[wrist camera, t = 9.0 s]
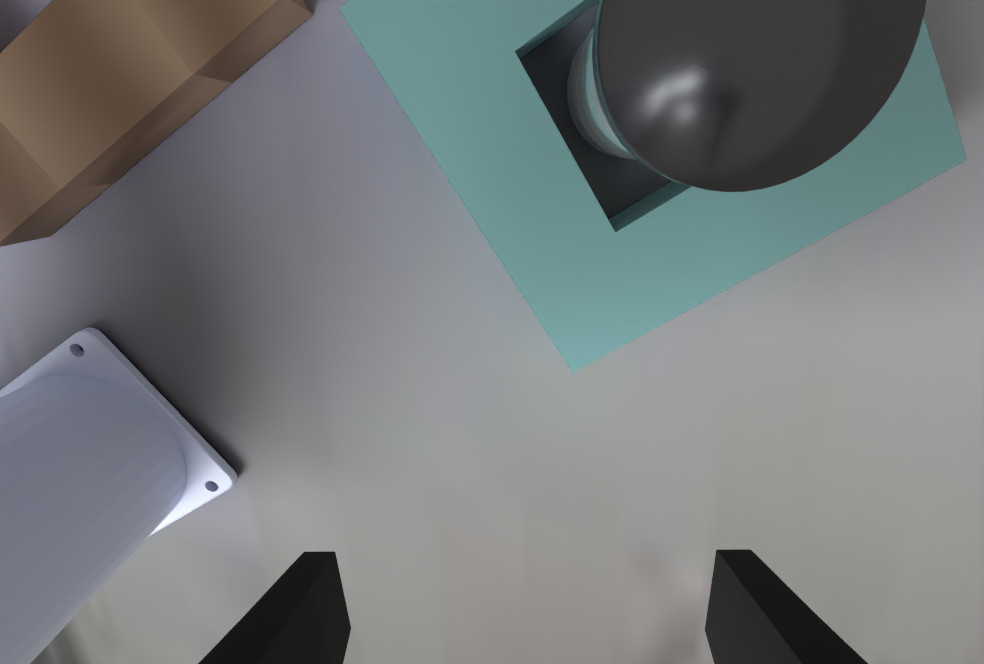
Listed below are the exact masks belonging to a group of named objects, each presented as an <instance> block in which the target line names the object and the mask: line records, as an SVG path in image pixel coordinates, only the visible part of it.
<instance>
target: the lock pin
mask: <svg viewBox="0 0 984 664" xmlns="http://www.w3.org/2000/svg"><path fill="white" fill-rule="evenodd" d="M925 4H926V0H600V1H599V5H598V9H597V13H596V18H595V24H594V26H593V28H592V29H591V30H590V32H589V33H588V35H587V36H586V38H585V39H584V41H583V42H582V44H581V45H580V47H579V49H578V50H577V52H576V54H575V56H574V59H573V61H572V64H571V67H570V71H569V75H568V82H567V99H568V106H569V111H570V114H571V117H572V120H573V122H574V124H575V126H576V128H577V130H578V131H579V132H580V134H581V135H582V137H583V138H584V139H585V140H586V141H587V142H588V143H589V144H591V145H592V146H593V147H594V148H596V149H598V150H599V151H601V152H603V153H606V154H608V155H611V156H615V157H620V158H627V159H634V160H638V161H639V162H640V163H641V164H643V165H644V166H645V167H646V168H648V169H650V170H651V171H653V172H655V173H656V174H658V175H660V176H662V177H664V178H667V179H669V180H672V181H674V182H677V183H681V184H685V185H689V186H693V187H697V188H701V189H705V190H711V191H720V192H746V191H752V190H759V189H765V188H768V187H772V186H775V185H779V184H782V183H785V182H787V181H790V180H792V179H795V178H797V177H800V176H802V175H804V174H806V173H807V172H809V171H811V170H813V169H815V168H817V167H818V166H820V165H822V164H823V163H825V162H826V161H827V160H829V159H830V158H832V157H833V156H835V155H836V154H837V153H839V152H840V151H841V150H842V149H844V148H845V147H846V146H847V145H848V144H849V143H850V142H852V141H853V140H854V139H855V138H856V137H857V136H858V135H859V134H860V133H861V132H862V131H863V130H864V129H865V128H866V127H867V125H868V124H869V123H870V122H871V121H872V120H873V119H874V117H875V116H876V115H877V114H878V112H879V111H880V110H881V108H882V107H883V106H884V104H885V103H886V102H887V100H888V99H889V97H890V95H891V94H892V92H893V90H894V89H895V87H896V86H897V84H898V82H899V81H900V79H901V77H902V75H903V73H904V70H905V68H906V66H907V64H908V62H909V60H910V58H911V55H912V52H913V50H914V47H915V44H916V41H917V39H918V36H919V32H920V28H921V24H922V20H923V16H924V12H925Z"/></svg>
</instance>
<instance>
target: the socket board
mask: <svg viewBox="0 0 984 664" xmlns="http://www.w3.org/2000/svg"><path fill="white" fill-rule="evenodd" d="M599 1H600V0H348V1H347V2H346V3H345V4H344V5H342V6H341V7H340V8H339V11H340V13H341V14H342V16H343V17H344V19H345V20H346V22H347V23H348V25H349V27H350V28H351V30H352V31H353V33H354V34H355V36H356V37H357V39H358V40H359V42H360V44H361V45H362V47H363V48H364V50H365V51H366V53H367V54H368V56H369V58H370V59H371V61H372V62H373V64H374V65H375V67H376V68H377V70H378V72H379V73H380V75H381V76H382V78H383V79H384V81H385V82H386V84H387V86H388V87H389V89H390V90H391V92H392V93H393V95H394V96H395V98H396V100H397V101H398V103H399V104H400V106H401V107H402V109H403V110H404V112H405V113H406V115H407V117H408V118H409V120H410V121H411V123H412V124H413V126H414V127H415V129H416V131H417V132H418V134H419V135H420V137H421V138H422V140H423V141H424V143H425V145H426V146H427V148H428V149H429V151H430V152H431V154H432V155H433V157H434V159H435V160H436V162H437V163H438V165H439V166H440V168H441V169H442V171H443V173H444V174H445V176H446V177H447V179H448V180H449V182H450V183H451V185H452V187H453V188H454V190H455V191H456V193H457V194H458V196H459V197H460V199H461V200H462V202H463V204H464V205H465V207H466V208H467V210H468V211H469V213H470V214H471V216H472V218H473V219H474V221H475V222H476V224H477V225H478V227H479V228H480V230H481V232H482V233H483V235H484V236H485V238H486V239H487V241H488V242H489V244H490V246H491V247H492V249H493V250H494V252H495V253H496V255H497V256H498V258H499V260H500V261H501V263H502V264H503V266H504V267H505V269H506V270H507V272H508V274H509V275H510V277H511V278H512V280H513V281H514V283H515V284H516V286H517V287H518V289H519V291H520V292H521V294H522V295H523V297H524V298H525V300H526V301H527V303H528V305H529V306H530V308H531V309H532V311H533V312H534V314H535V315H536V317H537V319H538V320H539V322H540V323H541V325H542V326H543V328H544V329H545V331H546V333H547V334H548V336H549V337H550V339H551V340H552V342H553V343H554V345H555V347H556V348H557V350H558V351H559V353H560V354H561V356H562V357H563V359H564V361H565V362H566V364H567V365H568V367H569V368H570V370H571V371H572V373H573V372H575V371H577V370H579V369H580V368H582V367H584V366H586V365H588V364H590V363H592V362H593V361H595V360H597V359H599V358H601V357H603V356H604V355H606V354H608V353H610V352H612V351H614V350H616V349H617V348H619V347H621V346H623V345H625V344H627V343H629V342H630V341H632V340H634V339H636V338H638V337H640V336H641V335H643V334H645V333H647V332H649V331H651V330H653V329H654V328H656V327H658V326H660V325H662V324H664V323H666V322H667V321H669V320H671V319H673V318H675V317H677V316H678V315H680V314H682V313H684V312H686V311H688V310H690V309H691V308H693V307H695V306H697V305H699V304H701V303H702V302H704V301H706V300H708V299H710V298H712V297H714V296H715V295H717V294H719V293H721V292H723V291H725V290H727V289H728V288H730V287H732V286H734V285H736V284H738V283H739V282H741V281H743V280H745V279H747V278H749V277H751V276H752V275H754V274H756V273H758V272H760V271H762V270H764V269H765V268H767V267H769V266H771V265H773V264H775V263H776V262H778V261H780V260H782V259H784V258H786V257H788V256H789V255H791V254H793V253H795V252H797V251H799V250H801V249H802V248H804V247H806V246H808V245H810V244H812V243H813V242H815V241H817V240H819V239H821V238H823V237H825V236H826V235H828V234H830V233H832V232H834V231H836V230H838V229H839V228H841V227H843V226H845V225H847V224H849V223H850V222H852V221H854V220H856V219H858V218H860V217H862V216H863V215H865V214H867V213H869V212H871V211H873V210H874V209H876V208H878V207H880V206H882V205H884V204H886V203H887V202H889V201H891V200H893V199H895V198H897V197H899V196H900V195H902V194H904V193H906V192H908V191H910V190H911V189H913V188H915V187H917V186H919V185H921V184H923V183H924V182H926V181H928V180H930V179H932V178H934V177H936V176H937V175H939V174H941V173H943V172H945V171H947V170H948V169H950V168H952V167H954V166H956V165H958V164H960V163H961V162H963V161H965V160H967V157H966V154H965V151H964V148H963V144H962V141H961V138H960V135H959V131H958V128H957V125H956V121H955V118H954V115H953V112H952V108H951V105H950V102H949V99H948V95H947V92H946V89H945V86H944V82H943V79H942V76H941V72H940V69H939V66H938V63H937V59H936V56H935V53H934V50H933V46H932V43H931V40H930V37H929V33H928V30H927V27H926V23H925V20H924V17H923V20H922V24H921V28H920V32H919V36H918V39H917V41H916V44H915V47H914V50H913V52H912V55H911V58H910V60H909V62H908V64H907V66H906V68H905V70H904V73H903V75H902V77H901V79H900V81H899V82H898V84H897V86H896V87H895V89H894V90H893V92H892V94H891V95H890V97H889V99H888V100H887V102H886V103H885V104H884V106H883V107H882V108H881V110H880V111H879V112H878V114H877V115H876V116H875V117H874V119H873V120H872V121H871V122H870V123H869V124H868V125H867V127H866V128H865V129H864V130H863V131H862V132H861V133H860V134H859V135H858V136H857V137H856V138H855V139H854V140H853V141H852V142H850V143H849V144H848V145H847V146H846V147H845V148H844V149H842V150H841V151H840V152H839V153H837V154H836V155H835V156H833V157H832V158H830V159H829V160H827V161H826V162H825V163H823V164H822V165H820V166H818V167H817V168H815V169H813V170H811V171H809V172H807V173H806V174H804V175H802V176H800V177H797V178H795V179H792V180H790V181H787V182H785V183H782V184H779V185H775V186H772V187H768V188H765V189H759V190H752V191H746V192H720V191H711V190H705V189H701V188H697V187H693V186H689V185H685V184H681V183H677V182H674V181H671V182H669V183H667V184H666V185H664V186H662V187H661V188H659V189H657V190H656V191H654V192H652V193H651V194H649V195H648V196H646V197H644V198H643V199H641V200H639V201H638V202H636V203H634V204H633V205H631V206H630V207H628V208H626V209H625V210H623V211H621V212H620V213H618V214H616V215H615V216H613V217H611V218H610V219H608V218H607V217H606V215H605V213H604V211H603V209H602V208H601V206H600V204H599V202H598V200H597V199H596V197H595V195H594V193H593V191H592V190H591V188H590V186H589V184H588V182H587V181H586V179H585V177H584V175H583V173H582V172H581V170H580V168H579V166H578V164H577V163H576V161H575V159H574V157H573V155H572V154H571V152H570V150H569V148H568V146H567V145H566V143H565V141H564V139H563V137H562V136H561V134H560V132H559V130H558V128H557V127H556V125H555V123H554V121H553V119H552V118H551V116H550V114H549V112H548V110H547V109H546V107H545V105H544V103H543V101H542V100H541V98H540V96H539V94H538V92H537V91H536V89H535V87H534V85H533V83H532V82H531V80H530V78H529V76H528V74H527V73H526V71H525V69H524V67H523V65H522V64H521V62H520V60H519V59H521V58H522V57H523V56H525V55H526V54H528V53H529V52H530V51H532V50H533V49H534V48H536V47H537V46H539V45H540V44H541V43H543V42H544V41H545V40H547V39H548V38H550V37H551V36H552V35H554V34H555V33H556V32H558V31H559V30H561V29H562V28H563V27H565V26H566V25H568V24H569V23H570V22H572V21H573V20H574V19H576V18H577V17H579V16H580V15H581V14H583V13H584V12H585V11H587V10H588V9H590V8H591V7H592V6H594V5H595V4H596V3H598V2H599Z"/></svg>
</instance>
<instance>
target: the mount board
mask: <svg viewBox="0 0 984 664" xmlns="http://www.w3.org/2000/svg"><path fill="white" fill-rule="evenodd" d="M312 15H313V14H312V12H311V11H310V9H309V8H308V6H307V5H306V3H305V2H304V0H52V1H51V2H50V3H49V4H48V5H47V6H46V7H45V9H44V10H43V11H42V12H41V13H40V14H39V15H38V16H37V17H36V18H35V19H34V20H33V21H32V22H31V23H30V24H29V25H28V26H27V27H26V28H25V29H24V30H23V31H22V32H21V33H20V34H19V35H18V36H17V37H16V38H15V39H14V40H13V41H12V42H11V43H10V44H9V45H8V46H7V47H6V48H5V49H4V50H3V51H2V52H1V53H0V247H1V246H6V245H11V244H15V243H20V242H25V241H30V240H35V239H40V238H45V237H50V236H51V235H53V234H54V233H55V232H56V231H57V230H59V229H60V228H61V227H62V226H63V225H64V224H66V223H67V222H68V221H69V220H70V219H72V218H73V217H74V216H75V215H76V214H77V213H79V212H80V211H81V210H82V209H83V208H85V207H86V206H87V205H88V204H89V203H91V202H92V201H93V200H94V199H95V198H96V197H98V196H99V195H100V194H101V193H102V192H104V191H105V190H106V189H107V188H108V187H110V186H111V185H112V184H113V183H114V182H115V181H117V180H118V179H119V178H120V177H121V176H123V175H124V174H125V173H126V172H127V171H128V170H130V169H131V168H132V167H133V166H134V165H136V164H137V163H138V162H139V161H140V160H142V159H143V158H144V157H145V156H146V155H147V154H149V153H150V152H151V151H152V150H153V149H155V148H156V147H157V146H158V145H159V144H160V143H162V142H163V141H164V140H165V139H166V138H168V137H169V136H170V135H171V134H172V133H174V132H175V131H176V130H177V129H178V128H179V127H181V126H182V125H183V124H184V123H185V122H187V121H188V120H189V119H190V118H191V117H193V116H194V115H195V114H196V113H197V112H198V111H200V110H201V109H202V108H203V107H204V106H206V105H207V104H208V103H209V102H210V101H211V100H213V99H214V98H215V97H216V96H217V95H219V94H220V93H221V92H222V91H223V90H225V89H226V88H227V87H228V86H229V85H230V84H232V83H233V82H234V81H235V80H236V79H238V78H239V77H240V76H241V75H242V74H243V73H245V72H246V71H247V70H248V69H249V68H251V67H252V66H253V65H254V64H255V63H257V62H258V61H259V60H260V59H261V58H262V57H264V56H265V55H266V54H267V53H268V52H270V51H271V50H272V49H273V48H274V47H276V46H277V45H278V44H279V43H280V42H281V41H283V40H284V39H285V38H286V37H287V36H289V35H290V34H291V33H292V32H293V31H294V30H296V29H297V28H298V27H299V26H300V25H302V24H303V23H304V22H305V21H306V20H308V19H309V18H310V17H311V16H312Z"/></svg>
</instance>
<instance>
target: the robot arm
mask: <svg viewBox="0 0 984 664" xmlns="http://www.w3.org/2000/svg"><path fill="white" fill-rule="evenodd" d="M79 345H80V346H81V347H82V348H83V350H84V351H82V350H81V349H80V347H79ZM212 481H213V482H215V483H216V484H217V485H215V484H213V483H212ZM236 481H237V474H236V472H235V471H234V470H233V469H232V468H231V467H230V466H229V465H228V463H227V462H226V461H225V460H224V459H223V458H222V457H221V456H220V455H219V454H218V453H217V452H216V451H215V450H214V449H213V448H212V447H211V446H210V445H209V444H208V443H207V442H206V441H205V440H204V439H203V437H202V436H201V435H200V434H199V433H198V432H197V431H196V430H195V429H194V428H193V427H192V426H191V425H190V424H189V423H188V422H187V421H186V420H185V419H184V418H183V417H182V416H181V415H180V414H179V412H178V411H177V410H176V409H175V408H174V407H173V406H172V405H171V404H170V403H169V402H168V401H167V400H166V399H165V398H164V397H163V396H162V395H161V394H160V393H159V392H158V391H157V390H156V389H155V388H154V386H153V385H152V384H151V383H150V382H149V381H148V380H147V379H146V378H145V377H144V376H143V375H142V374H141V373H140V372H139V371H138V370H137V369H136V368H135V367H134V366H133V365H132V364H131V363H130V361H129V360H128V359H127V358H126V357H125V356H124V355H123V354H122V353H121V352H120V351H119V350H118V349H117V348H116V347H115V346H114V345H113V344H112V343H111V342H110V341H109V340H108V339H107V338H106V337H105V335H104V334H103V333H101V332H100V331H99V330H97V329H94V328H85V329H83V330H80V331H78V332H76V333H75V334H73V335H72V336H71V337H69V338H68V339H67V340H66V341H64V342H63V343H62V344H60V345H59V346H58V347H56V348H55V349H54V350H52V351H51V352H50V353H48V354H47V355H46V356H44V357H43V358H42V359H41V360H39V361H38V362H37V363H35V364H34V365H33V366H31V367H30V368H29V369H27V370H26V371H25V372H23V373H22V374H21V375H19V376H18V377H17V378H15V379H14V380H13V381H12V382H10V383H9V384H8V385H6V386H5V387H4V388H2V389H1V390H0V664H30V663H31V662H32V661H33V660H34V659H35V658H36V657H37V656H38V655H39V654H40V653H41V652H42V650H43V649H44V648H45V647H46V646H47V645H48V644H49V643H50V642H51V641H52V640H53V639H54V638H55V636H56V635H57V634H58V633H59V632H60V631H61V630H62V629H63V628H64V627H65V626H66V625H67V624H68V622H69V621H70V620H71V619H72V618H73V617H74V616H75V615H76V614H77V613H78V612H79V611H80V610H81V609H82V607H83V606H84V605H85V604H86V603H87V602H88V601H89V600H90V599H91V598H92V597H93V596H94V595H95V593H96V592H97V591H98V590H99V589H100V588H101V587H102V586H103V585H104V584H105V583H106V582H107V581H108V579H109V578H110V577H111V576H112V575H113V574H114V573H115V572H116V571H117V570H118V569H119V568H120V567H121V565H122V564H123V563H124V562H125V561H126V560H127V559H128V558H129V557H130V556H131V555H132V554H133V553H134V551H135V550H136V549H137V548H138V547H139V546H140V545H141V544H142V543H143V542H144V541H145V540H146V539H147V537H149V536H150V535H152V534H154V533H156V532H157V531H159V530H161V529H162V528H164V527H166V526H168V525H169V524H171V523H173V522H174V521H176V520H178V519H180V518H181V517H183V516H185V515H186V514H188V513H190V512H191V511H193V510H195V509H197V508H198V507H200V506H202V505H203V504H205V503H207V502H209V501H210V500H212V499H214V498H215V497H217V496H219V495H221V494H222V493H224V492H226V491H227V490H229V489H230V488H231V487H232V486H233V485H234V484H235V483H236ZM350 630H351V626H350V621H349V616H348V612H347V607H346V602H345V597H344V593H343V588H342V583H341V578H340V573H339V569H338V564H337V559H336V554H335V552H304V553H303V554H302V555H301V556H300V557H299V558H298V559H297V560H296V561H295V562H294V563H293V564H292V565H291V566H290V567H289V568H288V569H287V570H286V572H285V573H284V574H283V575H282V576H281V577H280V578H279V579H278V580H277V581H276V582H275V583H274V585H273V586H272V587H271V588H270V589H269V590H268V591H267V592H266V593H265V594H264V595H263V596H262V597H261V599H260V600H259V601H258V602H257V603H256V604H255V605H254V606H253V607H252V608H251V609H250V610H249V611H248V612H247V614H246V615H245V616H244V617H243V618H242V619H241V620H240V621H239V622H238V623H237V624H236V625H235V626H234V627H233V628H232V629H231V630H230V631H229V632H228V633H227V634H226V636H225V637H224V638H223V639H222V640H221V641H220V642H219V643H218V644H217V645H216V646H215V647H214V648H213V649H212V650H211V651H210V652H209V653H208V654H207V655H206V656H205V657H204V658H203V659H202V660H201V661H200V662H199V663H198V664H343V661H344V656H345V652H346V648H347V643H348V639H349V635H350ZM705 632H706V635H707V639H708V642H709V646H710V649H711V653H712V656H713V660H714V663H715V664H868V663H867V662H866V661H865V660H864V659H862V658H861V657H860V656H859V655H858V654H857V653H856V652H855V651H854V650H853V649H852V648H851V647H850V646H849V645H848V644H846V643H845V642H844V641H843V640H842V639H841V638H840V637H839V636H838V635H837V634H836V633H835V632H834V631H833V630H832V629H831V628H830V627H829V626H828V625H827V624H826V623H825V622H823V621H822V620H821V619H820V618H819V617H818V616H817V615H816V614H815V613H814V612H813V611H812V610H811V609H810V608H809V607H808V606H807V605H806V604H805V603H804V602H803V601H802V600H801V599H800V598H799V597H798V596H797V595H796V594H795V593H794V592H793V591H792V590H791V589H790V588H789V587H788V586H787V585H786V584H785V583H784V582H783V581H782V580H781V579H780V578H779V577H778V576H777V575H776V574H775V573H774V572H773V571H772V570H771V569H770V568H769V567H768V566H767V565H766V564H765V563H764V562H763V561H762V560H761V559H760V558H759V557H758V556H757V555H756V554H755V553H753V552H752V551H751V550H716V557H715V564H714V571H713V578H712V585H711V592H710V598H709V605H708V612H707V619H706V626H705Z"/></svg>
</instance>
